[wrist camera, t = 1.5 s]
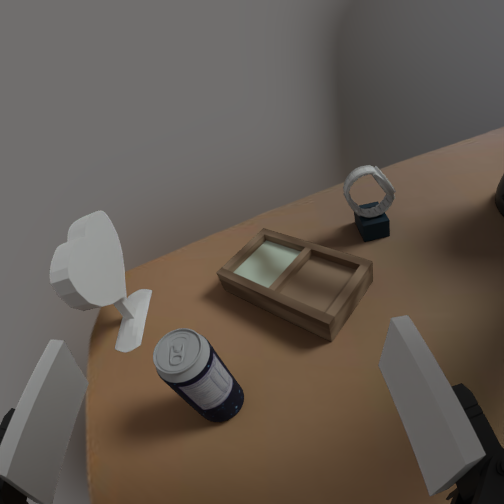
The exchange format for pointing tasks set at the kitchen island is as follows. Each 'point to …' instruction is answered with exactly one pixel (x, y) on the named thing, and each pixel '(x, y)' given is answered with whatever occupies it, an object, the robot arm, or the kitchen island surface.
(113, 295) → the heart sculpture
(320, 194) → the kitchen island surface
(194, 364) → the beverage can
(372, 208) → the watch
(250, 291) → the brown divided tray
